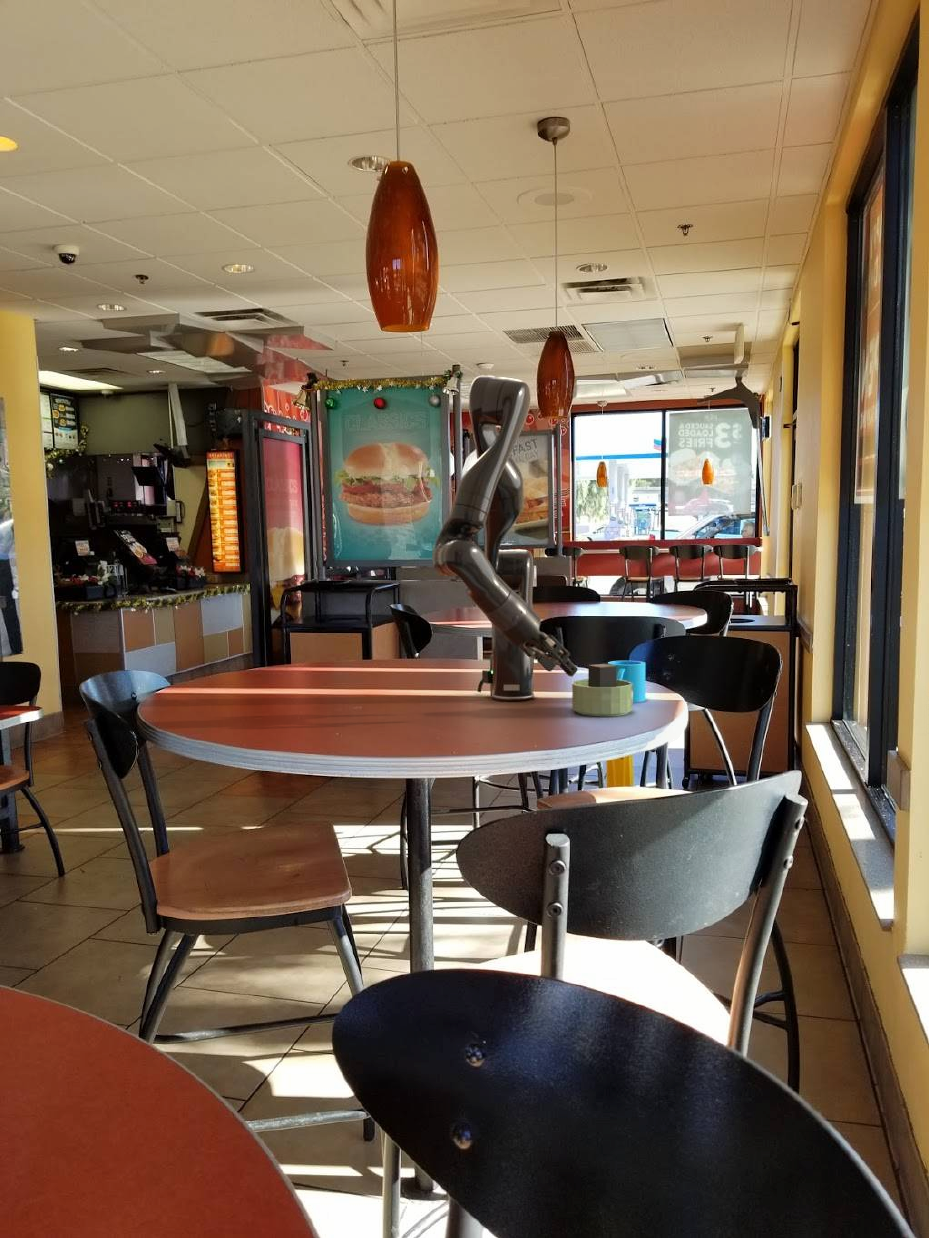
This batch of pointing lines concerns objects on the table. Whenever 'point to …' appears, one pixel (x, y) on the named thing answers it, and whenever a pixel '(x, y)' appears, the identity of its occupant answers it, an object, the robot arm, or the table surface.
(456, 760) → the table surface
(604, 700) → the bowl
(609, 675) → the dark rectangular block
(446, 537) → the robot arm
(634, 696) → the mug
